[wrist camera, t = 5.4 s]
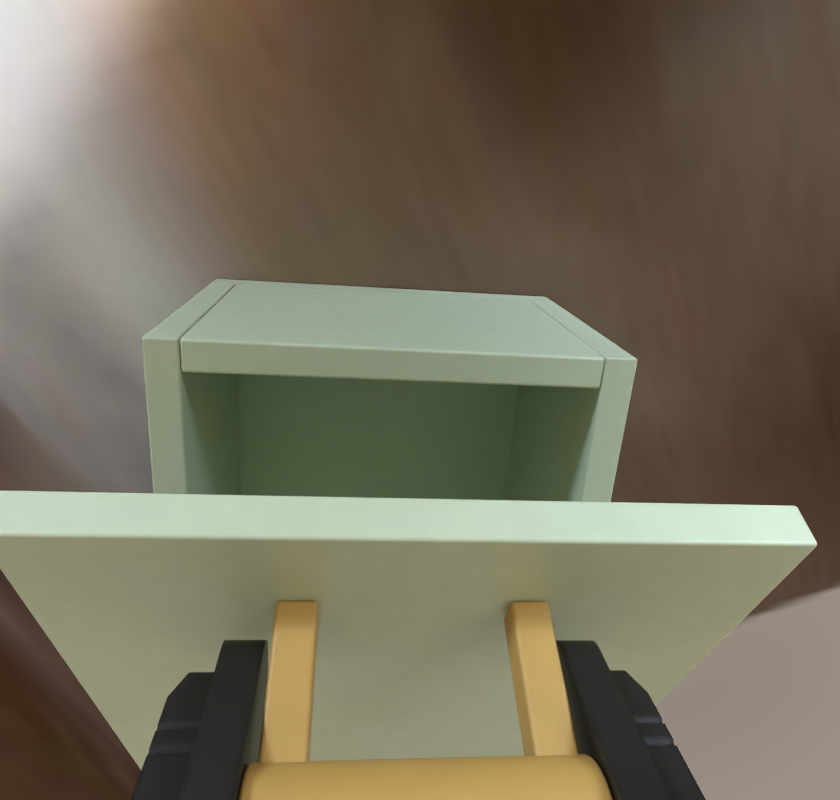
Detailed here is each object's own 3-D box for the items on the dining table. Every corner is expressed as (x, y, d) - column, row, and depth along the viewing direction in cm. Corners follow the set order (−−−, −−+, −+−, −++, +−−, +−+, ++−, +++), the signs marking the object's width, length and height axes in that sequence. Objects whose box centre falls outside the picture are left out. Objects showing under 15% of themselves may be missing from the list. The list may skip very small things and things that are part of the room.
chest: (215, 278, 24) (140, 336, 16) (546, 296, 25) (638, 358, 17) (227, 606, 29) (174, 782, 21) (503, 606, 30) (559, 772, 22)
